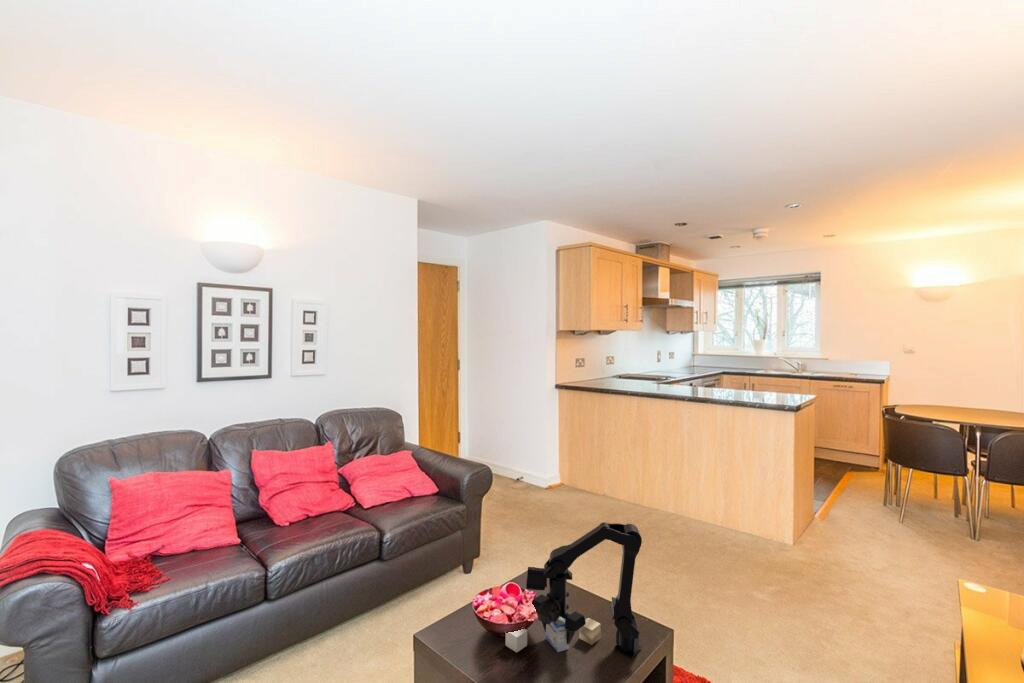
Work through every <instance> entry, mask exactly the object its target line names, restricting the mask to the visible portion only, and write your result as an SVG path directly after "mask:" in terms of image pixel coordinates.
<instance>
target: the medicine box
mask: <svg viewBox="0 0 1024 683" xmlns="http://www.w3.org/2000/svg"><path fill="white" fill-rule="evenodd" d="M565 620H566V619H564V618H562V617H560V616H559V618H558V620H557V621H556V622H551V623H550V624H546V632H545V640H546V641H547V642H548V643H549V644H550V645H551V646H552V647H553V649H554V650H555V651H556V652H557V653H560V652H563V651H567V650H569V648H570V644H569V645H568V644H567V630H566V629H565V628H564V627H566V625H565Z"/></svg>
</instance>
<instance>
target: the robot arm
mask: <svg viewBox="0 0 1024 683" xmlns="http://www.w3.org/2000/svg"><path fill="white" fill-rule="evenodd" d="M605 540H607V541H611V542H614V543H616V544H617V545H621V548H622V556H621V565H620V574H619V583H618V591H617V592H618V593H617V595H616V596H615V597H613V596H611V604H610V607H609V608H610V613H611V619H612V620H613V624H614V626H615V628H616V631H615V644H616V645H614V650H615V651H618V652H620V653H621V654H623V655H625V656H627V657H628V658H631V659H632V658H634V657H635V656H636V655H637V654H638V653H640V651H641V650H642V646H640V631H639V626H638V623H637V619H636V616H635V615H634V614H633V613H632V612H633V611H632V604H631V603H632V601H631V600H632V599H631V598H632V592H633V591H632V590H633V583H634V574H635V564H636V558H637V556H638V554H639V553H640V549H641V546H642V543H643V542H642V541H643V540H642V536H641V534H640V531H639V528H638V527H637V526H636V525H635V524H633V523H626V524H623V523H620V522H619V523H617V522H616V523H611V522H610V523H609V522H600V524H598V526H596V527H594V528H593V529H591V530H590V531H589V532H587V533H585V534H584V535H582V536H581V537H580V538H578V539H576V540H575V541H573V542H572V543H570V544H567V545H561V546H559V547H557V548H555V549H552V551H551V552H550V554H549V558H548V559H547V560H546V562H545V563H544V565H543V568H542V567H533V566H528V567H527V576H526V585H525V586H526V590H531V591H544V590H546V588H547V587H548V593H546V596H545V595H543V594H540V595H538V596H536V597H534V598H533V599H532V600H531V602H532V604H533V605H534V607H535V609H536V612H537V613H536V612H535V613H536V615H537V619H538V621H540V622H541V623H542V626H543V629H544V632H545V633H546V624H550V623H551V622H556V621H557V620H558V618H559V616H560V617H562V618H564V619H565V625H566V627H564V628H565V629H566V630H567V644H568V645H569V646H570V644H571V642H572V640H573V638H574V636H575V634H576V632H577V631H579V629H580V628H581V627H582V626H584V625H585V624H586V619H587V618H586V616H585V615H583V614H581V613H579V612H577V611H576V610H575V611H573V612H572V613H569V611H567V610H568V609H569V608H570V605H569V604H567V598H568V597H569V596H570V593H569V592H567V586H568V584H567V583H568V582H567V580H568V581H571V580H573V573H572V572H571V571H570V570H569V568H570V567H571V566H572V565H573V563H574V562H575V561H576V560H577V559H578V558H579V557H581V556H582V555H584V554H586V553H587V552H588V551H590V550H592V549H593V548H595V547H597V545H599V544H600V543H602V542H604V541H605ZM548 579H549V580H548ZM548 584H549V585H548Z"/></svg>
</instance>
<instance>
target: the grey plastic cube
mask: <svg viewBox="0 0 1024 683" xmlns="http://www.w3.org/2000/svg"><path fill="white" fill-rule="evenodd" d="M505 646H506V647H507V648H509V649H510V650H511V651H514V652H515V653H516V654H517V653H518V652H520V651H521V650H523V649H524V648H526V647H527V646H528V630H527V629H526V628H524V629H521V630H518V631H514V632H508V633H506V632H505Z"/></svg>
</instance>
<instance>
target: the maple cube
mask: <svg viewBox="0 0 1024 683" xmlns="http://www.w3.org/2000/svg"><path fill="white" fill-rule="evenodd" d="M585 619H586V624H585V625H584V626H582V627H581V628H580V629H578V631H579V634H578V636H579V637H578V638H579V639H580V640H581V641H583V642H585V643H587V644H589V645H591V646H593V645H594V644H595V643H596V642H598V641H599V640H600V639H601V625H602V624H601V623H600V622H598V621H596V620H594V619H592V618H590V617H587V618H585Z"/></svg>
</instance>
